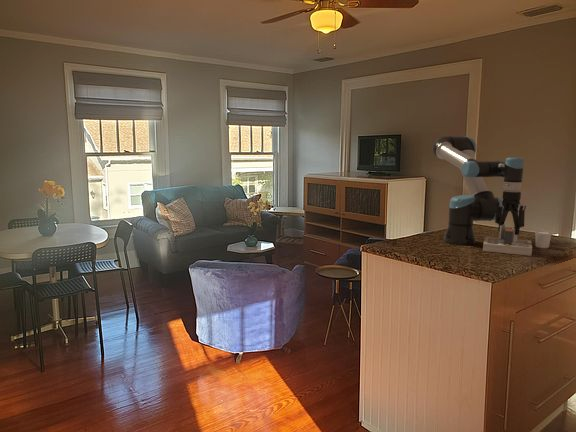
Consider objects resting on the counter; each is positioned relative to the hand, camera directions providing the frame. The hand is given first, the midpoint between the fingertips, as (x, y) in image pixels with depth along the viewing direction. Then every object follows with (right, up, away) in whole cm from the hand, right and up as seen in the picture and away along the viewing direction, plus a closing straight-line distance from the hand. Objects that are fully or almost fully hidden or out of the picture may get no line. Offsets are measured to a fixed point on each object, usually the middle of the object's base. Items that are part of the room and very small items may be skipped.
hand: (507, 239), depth 211 cm
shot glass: (+20, -4, +7) cm, 21 cm away
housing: (0, -4, +1) cm, 5 cm away
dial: (0, -2, +1) cm, 2 cm away
